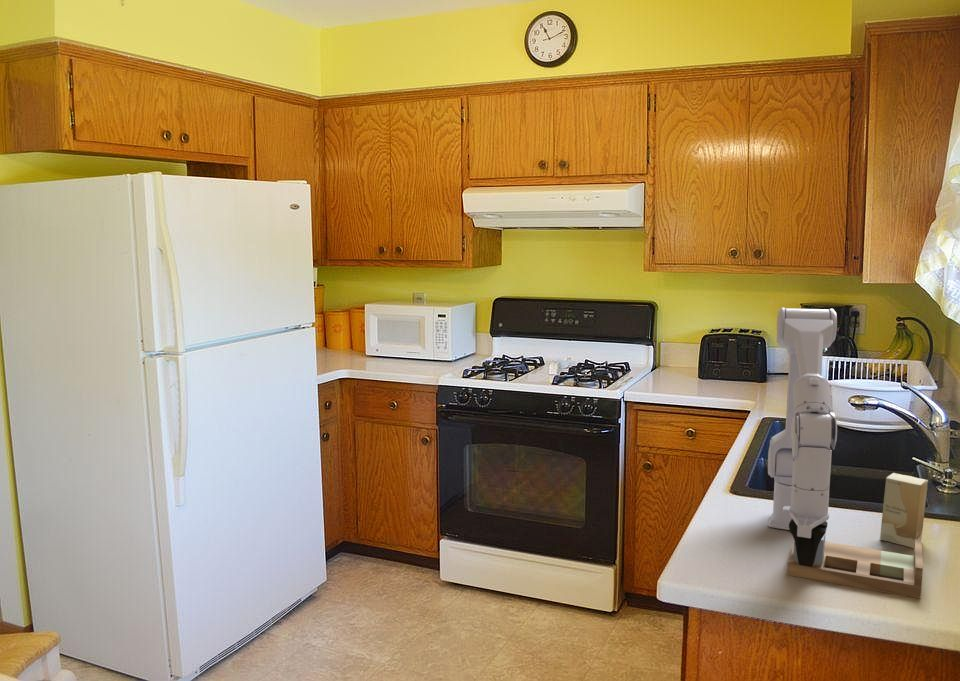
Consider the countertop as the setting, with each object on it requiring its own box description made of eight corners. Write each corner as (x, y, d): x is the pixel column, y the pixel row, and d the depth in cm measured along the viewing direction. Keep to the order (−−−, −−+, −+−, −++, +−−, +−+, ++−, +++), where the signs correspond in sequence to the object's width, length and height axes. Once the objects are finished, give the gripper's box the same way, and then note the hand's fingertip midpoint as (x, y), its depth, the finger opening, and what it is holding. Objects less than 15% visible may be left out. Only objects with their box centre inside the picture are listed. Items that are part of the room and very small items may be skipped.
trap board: (795, 547, 152) (797, 521, 152) (919, 567, 144) (921, 540, 143) (786, 574, 141) (788, 546, 140) (920, 598, 132) (922, 568, 131)
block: (796, 551, 146) (797, 526, 145) (824, 556, 144) (825, 531, 143) (793, 561, 142) (794, 535, 141) (821, 565, 140) (823, 540, 139)
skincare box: (879, 540, 156) (883, 477, 154) (886, 533, 159) (891, 471, 157) (916, 549, 152) (921, 484, 150) (923, 542, 155) (928, 478, 153)
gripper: (789, 469, 144) (785, 544, 146) (778, 494, 131) (774, 576, 133) (834, 475, 141) (829, 551, 143) (827, 501, 128) (822, 585, 130)
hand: (805, 564), depth 138 cm, fingers closed
